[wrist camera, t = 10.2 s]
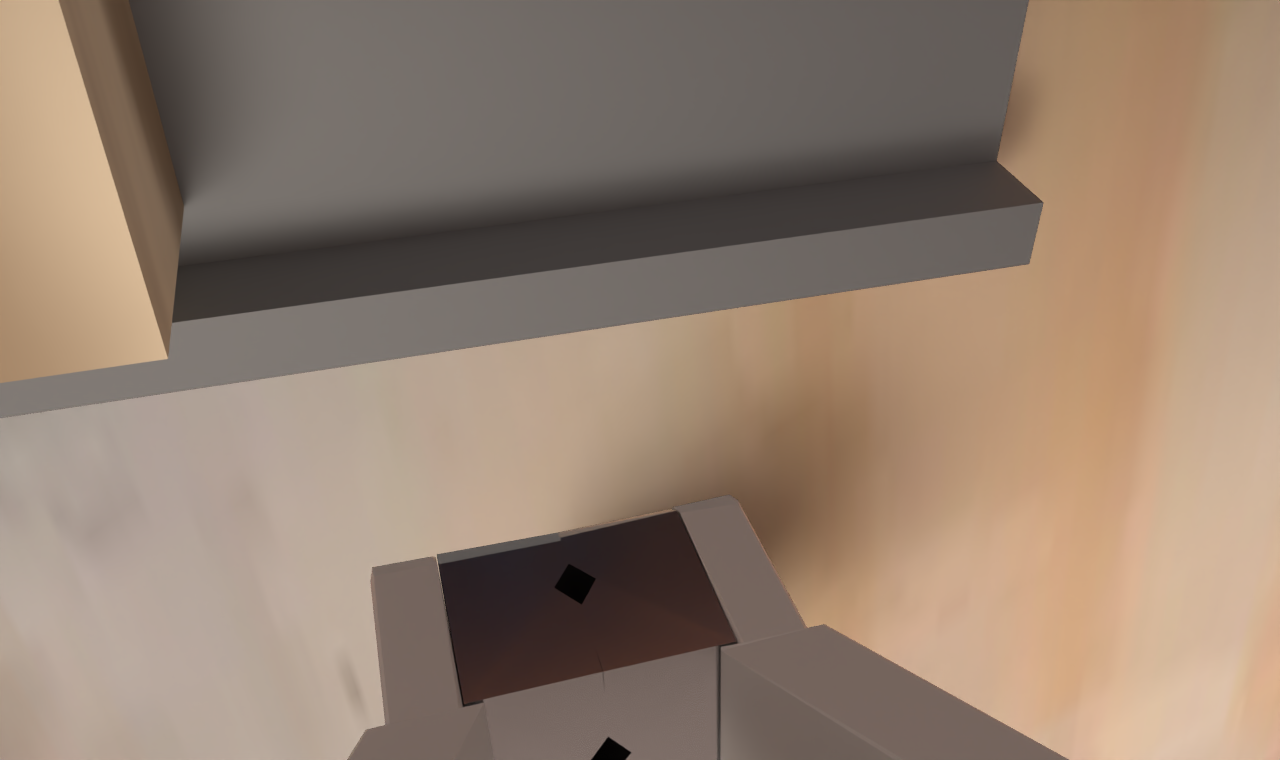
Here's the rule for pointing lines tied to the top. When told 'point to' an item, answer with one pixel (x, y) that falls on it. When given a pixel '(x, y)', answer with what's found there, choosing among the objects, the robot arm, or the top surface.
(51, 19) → the block
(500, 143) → the guide channel
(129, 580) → the top surface
